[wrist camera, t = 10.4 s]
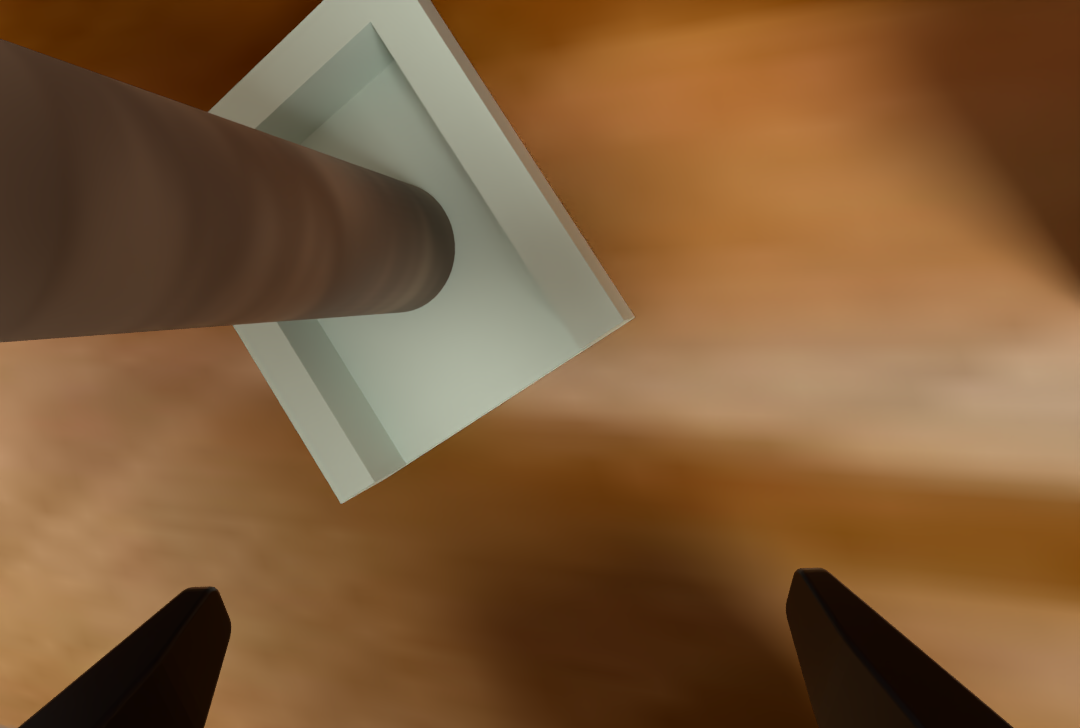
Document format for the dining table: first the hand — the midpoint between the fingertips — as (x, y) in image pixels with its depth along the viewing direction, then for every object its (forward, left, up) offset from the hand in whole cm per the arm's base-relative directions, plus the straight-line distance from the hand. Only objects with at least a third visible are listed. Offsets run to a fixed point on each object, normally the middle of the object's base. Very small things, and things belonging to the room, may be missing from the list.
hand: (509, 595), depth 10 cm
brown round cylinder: (+9, +3, -11) cm, 14 cm away
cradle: (+9, +3, -11) cm, 15 cm away
